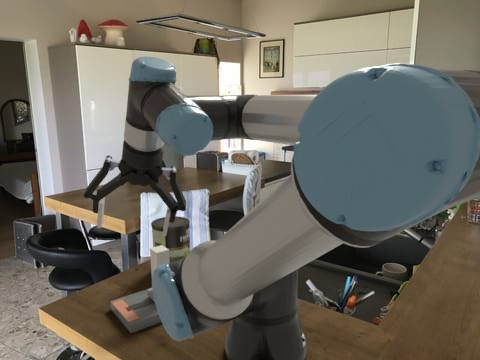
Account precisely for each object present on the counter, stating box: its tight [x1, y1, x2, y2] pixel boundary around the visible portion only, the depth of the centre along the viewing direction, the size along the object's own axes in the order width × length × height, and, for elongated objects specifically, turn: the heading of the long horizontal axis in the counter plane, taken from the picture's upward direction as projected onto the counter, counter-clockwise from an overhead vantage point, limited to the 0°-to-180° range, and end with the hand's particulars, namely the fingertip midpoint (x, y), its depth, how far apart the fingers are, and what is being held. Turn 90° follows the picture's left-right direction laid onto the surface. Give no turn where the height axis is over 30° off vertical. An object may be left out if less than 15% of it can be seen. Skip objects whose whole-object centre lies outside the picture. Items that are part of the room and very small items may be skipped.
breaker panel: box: [109, 289, 162, 334], centre depth 90 cm, size 12×20×2 cm, turn 127°
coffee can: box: [150, 216, 191, 263], centre depth 108 cm, size 10×10×14 cm
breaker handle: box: [146, 245, 170, 302], centre depth 88 cm, size 5×5×12 cm
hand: (133, 228), depth 84 cm, fingers open, 13 cm apart
